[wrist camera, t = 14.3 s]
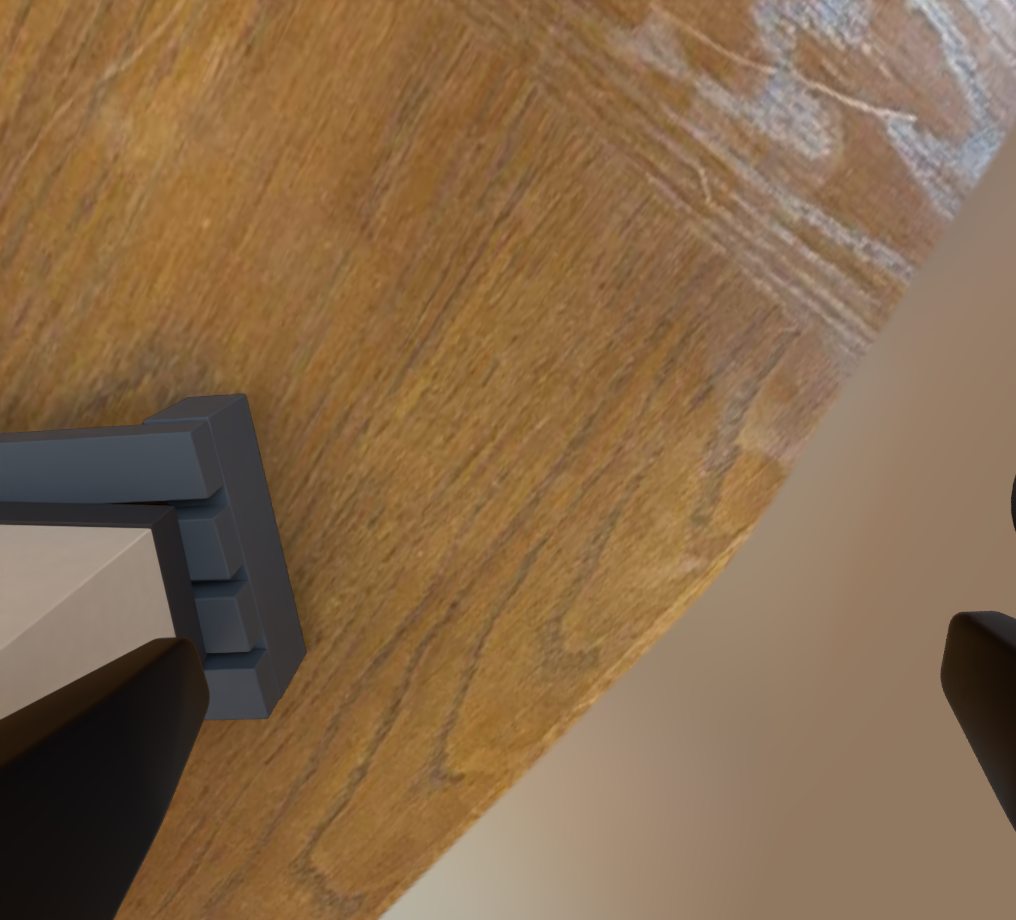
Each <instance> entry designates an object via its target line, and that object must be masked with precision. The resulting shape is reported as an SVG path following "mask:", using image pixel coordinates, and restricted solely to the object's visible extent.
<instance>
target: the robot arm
mask: <svg viewBox="0 0 1016 920" xmlns="http://www.w3.org/2000/svg"><path fill="white" fill-rule="evenodd" d="M941 683H942V688H943V691H944V693H945V696H946V698H947V700H948V702H949V704H950V706H951V708H952V710H953V712H954V714H955V716H956V718H957V719H958V722H959V723H960V725H961V727H962V729H963V731H964V733H965V735H966V737H967V739H968V741H969V743H970V745H971V747H972V749H973V751H974V753H975V755H976V757H977V758H978V761H979V763H980V765H981V767H982V769H983V771H984V773H985V775H986V776H987V778H988V781H989V783H990V785H991V786H992V789H993V790H994V792H995V794H996V796H997V798H998V800H999V802H1000V804H1001V806H1002V808H1003V810H1004V812H1005V813H1006V815H1007V817H1008V819H1009V821H1010V823H1011V824H1012V826H1013V828H1014V829H1015V831H1016V619H1015V618H1012V617H1010V616H1007V615H1005V614H1003V613H1000V612H995V611H979V612H978V611H976V612H959V613H958V614H956V615H955V616H953V618H952V619H951V621H950V624H949V628H948V634H947V639H946V645H945V650H944V655H943V661H942V666H941ZM209 702H210V691H209V686H208V683H207V680H206V677H205V673H204V670H203V667H202V664H201V660H200V657H199V654H198V651H197V648H196V645H195V643H194V642H193V641H192V640H191V639H189V638H187V637H168V638H157V639H154V640H151V641H149V642H148V643H146V644H144V645H142V646H140V647H138V648H136V649H134V650H132V651H130V652H128V653H127V654H125V655H123V656H121V657H119V658H117V659H115V660H113V661H111V662H109V663H107V664H105V665H104V666H102V667H100V668H98V669H96V670H94V671H92V672H90V673H88V674H86V675H84V676H83V677H81V678H79V679H77V680H75V681H73V682H71V683H69V684H67V685H65V686H63V687H62V688H60V689H58V690H56V691H54V692H52V693H50V694H48V695H46V696H44V697H42V698H40V699H39V700H37V701H35V702H33V703H31V704H29V705H27V706H25V707H23V708H21V709H19V710H18V711H16V712H14V713H12V714H10V715H8V716H6V717H4V718H2V719H0V920H114V918H115V916H116V914H117V912H118V910H119V908H120V906H121V904H122V902H123V900H124V898H125V896H126V894H127V892H128V890H129V888H130V886H131V884H132V883H133V881H134V879H135V877H136V875H137V873H138V871H139V869H140V867H141V865H142V863H143V861H144V859H145V857H146V855H147V853H148V851H149V849H150V847H151V845H152V843H153V841H154V839H155V837H156V835H157V833H158V831H159V829H160V826H161V824H162V822H163V819H164V817H165V815H166V813H167V810H168V808H169V806H170V803H171V801H172V798H173V796H174V793H175V791H176V788H177V786H178V783H179V781H180V778H181V776H182V773H183V771H184V768H185V766H186V763H187V761H188V758H189V756H190V753H191V751H192V748H193V746H194V743H195V741H196V738H197V736H198V733H199V731H200V728H201V726H202V723H203V721H204V718H205V716H206V713H207V710H208V707H209Z"/></svg>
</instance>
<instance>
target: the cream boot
mask: <svg viewBox="0 0 1016 920" xmlns="http://www.w3.org/2000/svg"><path fill="white" fill-rule="evenodd" d="M168 637H187V638H189V639H191V640H192V641H193V642H194V643H195V645H196V648H197V651H198V654H199V657H200V660H201V664H202V663H203V661H204V660H205V659H206V657H207V655H206V650H205V646H204V641H203V636H202V632H201V627H200V622H199V617H198V613H197V608H196V603H195V598H194V594H193V589H192V584H191V580H190V575H189V570H188V565H187V561H186V556H185V551H184V547H183V542H182V537H181V532H180V528H179V523H178V518H177V513H176V509H175V506H168V505H126V504H83V503H41V502H0V719H2V718H4V717H6V716H8V715H10V714H12V713H14V712H16V711H18V710H19V709H21V708H23V707H25V706H27V705H29V704H31V703H33V702H35V701H37V700H39V699H40V698H42V697H44V696H46V695H48V694H50V693H52V692H54V691H56V690H58V689H60V688H62V687H63V686H65V685H67V684H69V683H71V682H73V681H75V680H77V679H79V678H81V677H83V676H84V675H86V674H88V673H90V672H92V671H94V670H96V669H98V668H100V667H102V666H104V665H105V664H107V663H109V662H111V661H113V660H115V659H117V658H119V657H121V656H123V655H125V654H127V653H128V652H130V651H132V650H134V649H136V648H138V647H140V646H142V645H144V644H146V643H148V642H149V641H151V640H154V639H157V638H168Z"/></svg>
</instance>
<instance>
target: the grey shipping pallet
mask: <svg viewBox="0 0 1016 920" xmlns="http://www.w3.org/2000/svg"><path fill="white" fill-rule="evenodd" d="M150 501H166V503H167V505H168V506H175V509H176V513H177V518H178V523H179V528H180V532H181V537H182V542H183V547H184V551H185V556H186V561H187V565H188V570H189V575H190V580H191V584H192V589H193V594H194V598H195V603H196V608H197V613H198V617H199V622H200V627H201V632H202V636H203V641H204V646H205V650H206V655H207V657H206V659H205V660H204V661H203V663H202V667H203V670H204V673H205V677H206V680H207V683H208V686H209V691H210V702H209V707H208V710H207V713H206V716H205V718H204V720H239V719H268V718H269V717H270V715H271V713H272V711H273V709H274V708H275V706H276V704H277V702H278V700H279V699H281V698H282V696H283V694H284V693H285V691H286V689H287V687H288V685H289V684H290V682H291V680H292V678H293V676H294V675H295V673H296V671H297V669H298V667H299V666H300V664H301V662H302V660H303V658H304V657H305V655H306V648H305V644H304V640H303V635H302V631H301V627H300V623H299V618H298V614H297V610H296V606H295V601H294V597H293V593H292V589H291V584H290V580H289V576H288V572H287V567H286V563H285V559H284V555H283V550H282V546H281V542H280V538H279V533H278V529H277V525H276V521H275V516H274V512H273V508H272V504H271V499H270V495H269V491H268V487H267V482H266V478H265V474H264V470H263V465H262V461H261V457H260V453H259V448H258V444H257V440H256V436H255V431H254V427H253V423H252V419H251V414H250V410H249V406H248V402H247V397H246V395H245V394H231V395H216V396H201V397H188V398H186V399H184V400H182V401H180V402H178V403H176V404H174V405H172V406H170V407H168V408H167V409H165V410H163V411H161V412H159V413H157V414H155V415H153V416H151V417H149V418H147V419H145V420H144V421H143V425H128V426H112V427H96V428H80V429H65V430H49V431H33V432H17V433H1V434H0V502H41V503H83V504H110V503H130V502H150Z"/></svg>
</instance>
